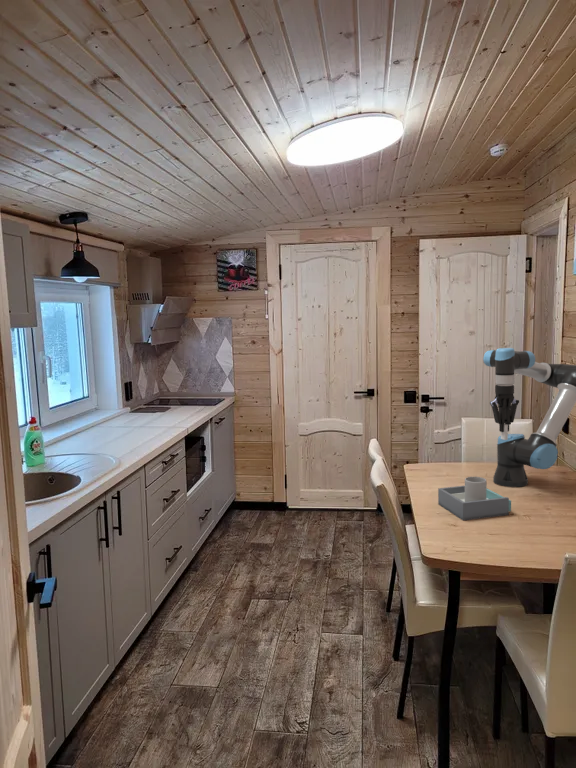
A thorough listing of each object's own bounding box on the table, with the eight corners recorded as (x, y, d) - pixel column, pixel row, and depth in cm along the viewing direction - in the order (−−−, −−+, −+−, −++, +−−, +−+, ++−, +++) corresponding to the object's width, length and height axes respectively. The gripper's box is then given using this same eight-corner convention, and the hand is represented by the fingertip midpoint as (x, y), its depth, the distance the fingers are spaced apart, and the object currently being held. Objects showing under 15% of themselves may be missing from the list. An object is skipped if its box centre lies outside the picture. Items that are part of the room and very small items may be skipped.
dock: (480, 499, 240) (480, 483, 239) (508, 515, 221) (508, 497, 220) (438, 504, 236) (438, 488, 235) (463, 520, 216) (463, 503, 215)
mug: (484, 510, 221) (484, 483, 220) (462, 507, 225) (462, 481, 224) (489, 501, 232) (489, 475, 230) (468, 498, 236) (468, 473, 234)
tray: (484, 496, 240) (484, 487, 239) (511, 511, 221) (511, 500, 221) (442, 501, 235) (442, 491, 235) (466, 516, 217) (466, 506, 217)
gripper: (512, 382, 240) (512, 436, 243) (485, 384, 237) (485, 438, 240) (523, 384, 233) (523, 439, 236) (496, 386, 230) (495, 442, 233)
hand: (504, 439), depth 238 cm, fingers closed
